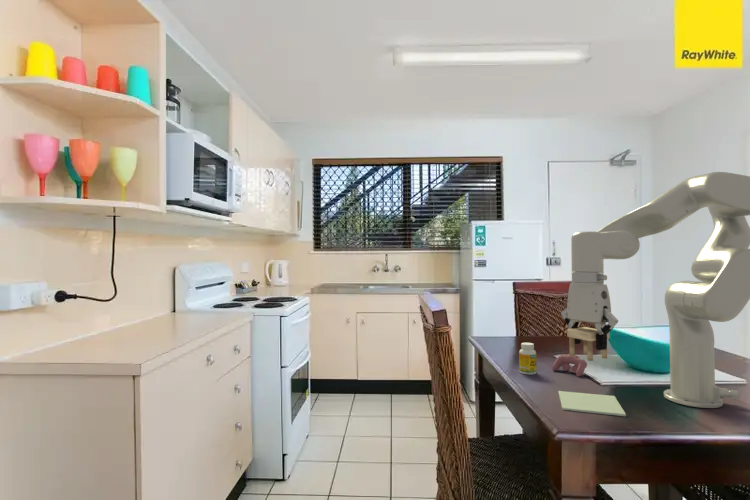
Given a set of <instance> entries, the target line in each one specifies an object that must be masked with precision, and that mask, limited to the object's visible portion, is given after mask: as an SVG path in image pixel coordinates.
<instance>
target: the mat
mask: <svg viewBox="0 0 750 500" xmlns="http://www.w3.org/2000/svg"><path fill="white" fill-rule="evenodd" d="M557 392H558V397H559V401H560V405H561V409H562V411H569V410H570V411H571V412H579V413H588V414H589V413H591V414H601V415H607V416H608V415H610V416H618V417H627V414H626V412H625V410H624V409H623V408H622V405H621V404H620V403H619V401H618V400H617V397H616V396H615V395H608V394H607V395H606V394H594V393H588V392H587V393H585V392H575V391H566V390H565V391H563V390H562V391H561V390H558V391H557ZM570 411H569V412H570Z"/></svg>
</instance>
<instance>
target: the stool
mask: <svg viewBox="0 0 750 500" xmlns="http://www.w3.org/2000/svg"><path fill="white" fill-rule="evenodd" d="M566 332H567V333H566V336H567V338H568V339H569V341H568V342H569V354H570V356H575V355H576V354H575V352H576V351H575V350H576V349H575V348H576V347H575V345H576V344H575V343H574V338H577V339H581V341H583V354H584V355H587V361H590V362H593V361H594V356H593V355H594V353H593V351H594V347H593V346H594V342H596V334H598V331H597V329H596V328H592V327H588V326H583V327H578V328H572V329H569V328H567V329H566ZM607 340H610V333H609V334H607ZM601 358H602V359H604V360H605V359H608V348H607V349H605V350H601Z"/></svg>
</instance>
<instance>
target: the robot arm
mask: <svg viewBox="0 0 750 500" xmlns="http://www.w3.org/2000/svg"><path fill="white" fill-rule="evenodd" d="M703 208H708V211H709V214H710V216H711V219H712V223H713V229H712V233H711V234H710V236H709V238H708V239H707V240H706V242H705V244H704V245H703V246H702V248H701V249H700V251H699V252H698V253H697V255H696V256H695V258H694V260H693V261H692V264H691V268H690V270H691V274H692V276H693V277H694V278H695V279H697V280H698V281H695V280H694V281H693V280H680V281H676V282H675V283H673V284H671V285H670V286H669V287H668V288H667V289H666V291H665V292H664V306H665V309H666V313H667V319H668V327H669V370H670V371H669V375H670V376H669V377H670V378H669V379H670V380H669V381H670V382H669V383H670V388H669V389H668V388H667V389H665V390H664V391H663V397H664V398H665V399H667V400H668V401H671V402H673V403H675V404H680V405H683V406H688V407H693V408H694V407H695V408H701V409H717V408H721V407H723V406H724V400H723V399H724V398H730V399H739V398H740V393H739V391H738V390H736V389H735V390H734V389H728V388H725V387H719V386H718V385H717V384H716V377H715V376H716V372H715V371H716V369H715V368H716V367H715V333H714V330H713V327H712V325H711V322H716V323H717V322H718V323H726V322H729V321H732V320H733V319H735V318H736V317H737V316H738V315H739V314H740V313H741V312H742V311H743V310H744V309H745V307H746V305H747V304H748V302H749V301H750V248H749V247H750V225H749V223H748V220H747V219H746V217H745V216H750V175H745V174H744V175H743V174H738V173H733V172H728V171H727V172H726V171H714V172H709V173H705V174H700V175H697V176H691V177H688V178H685V179H683V180H681V181H680V182H678V183H677V184H675V185H673V187H670V189H667V191H665V192H663V193H661V194H660V195H659V196H657V197H655V198H654V199H652V200H650V202H648V203H646V204H645V205H643V206H639V207H638V208H636V209H634V210H632V211H630V212H628V213H627V214H625V215H622V216H620V217H618V218H616V219H614V220H613V221H611V222H610V223H608V224H606V225H605V226H603V227H602V228H600V229H599V230H597V231H577V232H574V233H573V234H572V235H571V239H570V240H571V244H570V246H571V254H570V255H571V283H569V288H568V294H567V302H566V303H567V304H566V305H567V307H565V309H564V310H562V311H561V312H560V315H561V317H562V319H564V323H566V325H567V329H572V328H580V325H581V323H589V324H594V327H595V329H597V331H598V334H596V341H595V349H596V350H597V351H602V350H605V349H607V350H608V339H607V334H609V335H610V332H611V331H613V329H614V327H616V325H618V323H619V320H618V319H619V318H617V317H616V316H615V315H614V314H613V313H612V306H611V305H612V304H611V297H610V291H609V289H608V284H605V281H607V280H608V275H606V274H604V269H605V268H604V260H626V259H627V260H628V259H630V258H632V257H634V256H635V255H637V253H638V252H639V251H640V247H641V243H640V240H639V239H642V238H645V237H648V236H651V235H652V236H653V235H656V234H659V233H663V232H665V231H668V230H670V229H672V228H674V227H675V226H677V225H678V224H679V223H681V222H682V221H684V220H686V219H687V218H688V217H690V216H691V215H693V214H694V213H696V212H698V211H699V210H701V209H703ZM710 321H711V322H710ZM581 341H582V340H581V339H577V338H574V343H575V345H580V344H581Z"/></svg>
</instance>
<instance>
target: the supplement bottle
mask: <svg viewBox="0 0 750 500" xmlns="http://www.w3.org/2000/svg"><path fill="white" fill-rule="evenodd" d="M534 344H535V343H532V342H521V344H520V347H521V348H520V349H519V352H518V356H519V357H518V358H519V359H518V360H519V363H518V364H519V367H518V368H519V372H520V374H522V375H528V376H529V375H532V376H533V375H536V374H537V372H538V371H537V370H538V369H537V352H536V350H535V349H534V348H535V345H534Z"/></svg>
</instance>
